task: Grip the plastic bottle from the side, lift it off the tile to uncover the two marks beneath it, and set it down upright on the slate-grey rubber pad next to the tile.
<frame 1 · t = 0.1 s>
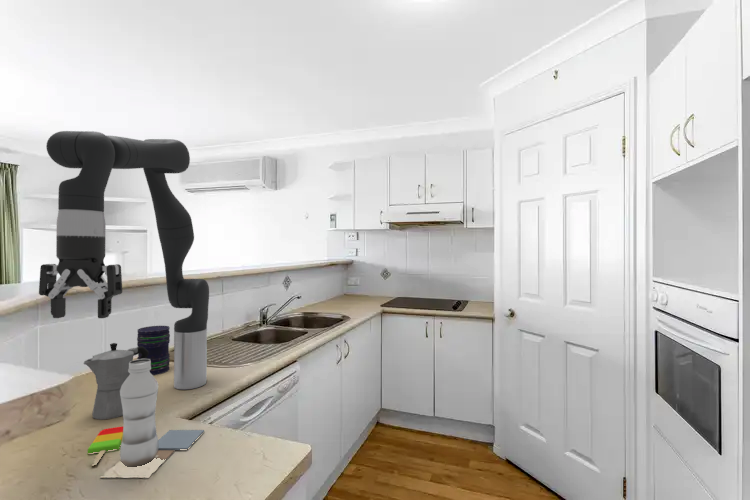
hand: (81, 317, 73), 29 cm above the countertop, tool pointing down, fingers open, 8 cm apart
storage jar: (153, 371, 131), on the countertop
code tile: (139, 464, 74), on the countertop
plastic bottle: (139, 463, 74), resting on code tile
slate pad: (178, 441, 83), on the countertop
popsicle: (105, 451, 80), on the countertop
coffeepot: (117, 411, 99), on the countertop
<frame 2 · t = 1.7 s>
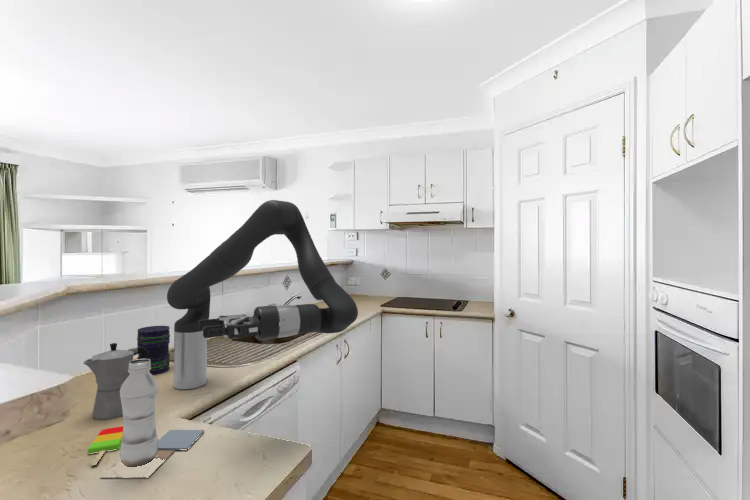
hand: (200, 328, 80), 26 cm above the countertop, tool horizontal, fingers open, 8 cm apart
nothing on the countertop moved.
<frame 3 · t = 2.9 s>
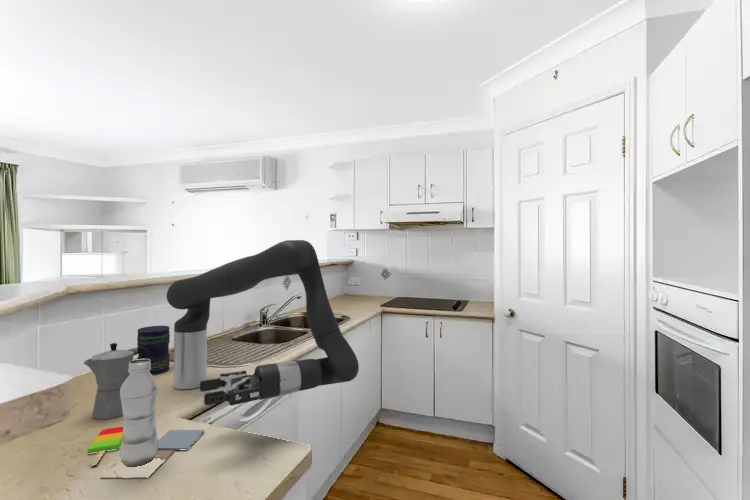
hand: (201, 392, 80), 12 cm above the countertop, tool horizontal, fingers open, 8 cm apart
nothing on the countertop moved.
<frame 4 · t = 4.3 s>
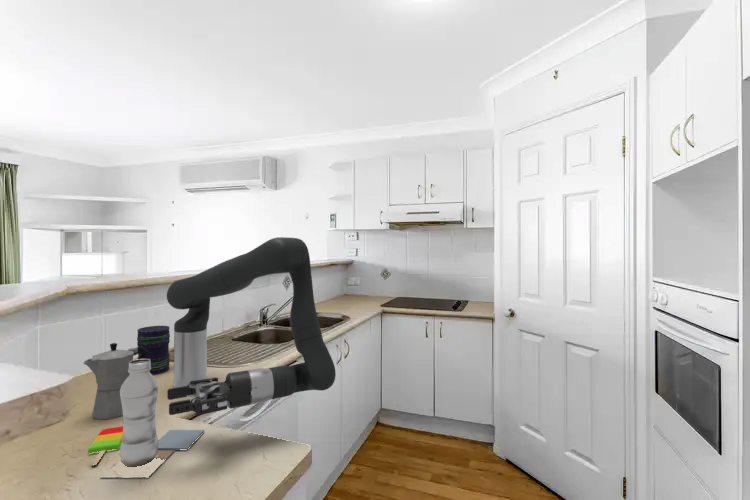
hand: (168, 401, 77), 11 cm above the countertop, tool horizontal, fingers open, 8 cm apart
nothing on the countertop moved.
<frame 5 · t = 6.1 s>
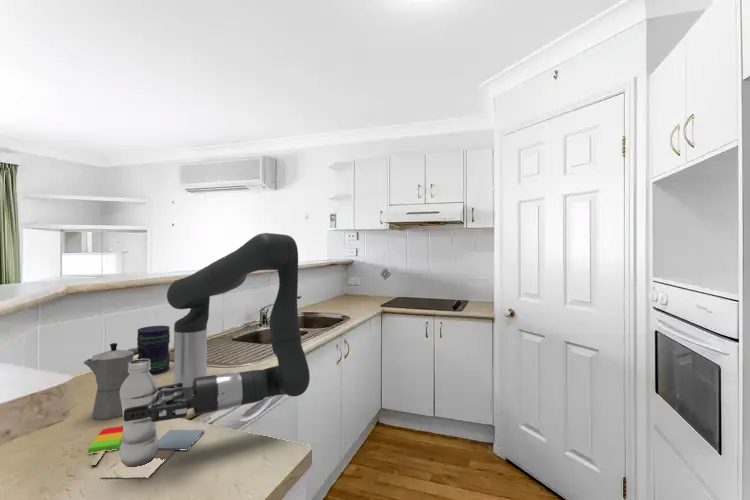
hand: (125, 408, 73), 12 cm above the countertop, tool horizontal, fingers closed on plastic bottle, 6 cm apart
plastic bottle: (139, 463, 74), resting on code tile, touching gripper
everything else where it was.
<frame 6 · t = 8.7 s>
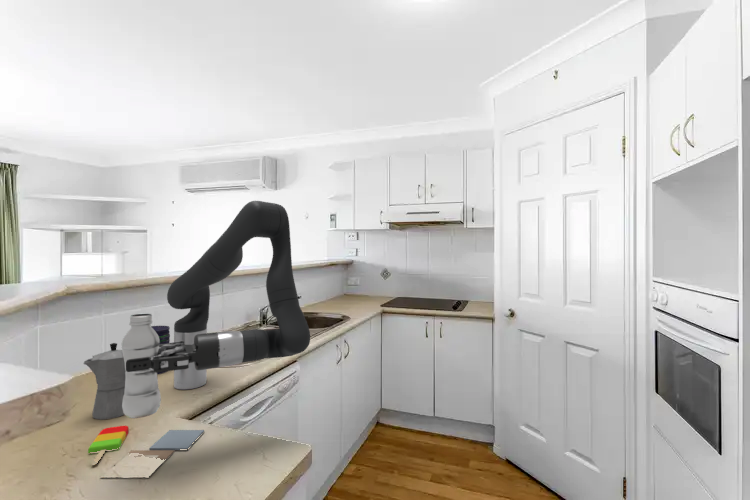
hand: (127, 361, 73), 21 cm above the countertop, tool horizontal, fingers closed on plastic bottle, 6 cm apart
plastic bottle: (141, 416, 75), point 9 cm above the countertop, touching gripper
everything else where it was.
when the fingers open (13 cm above the countertop, at t = 11.8 s): plastic bottle drops 1 cm, resting on slate pad.
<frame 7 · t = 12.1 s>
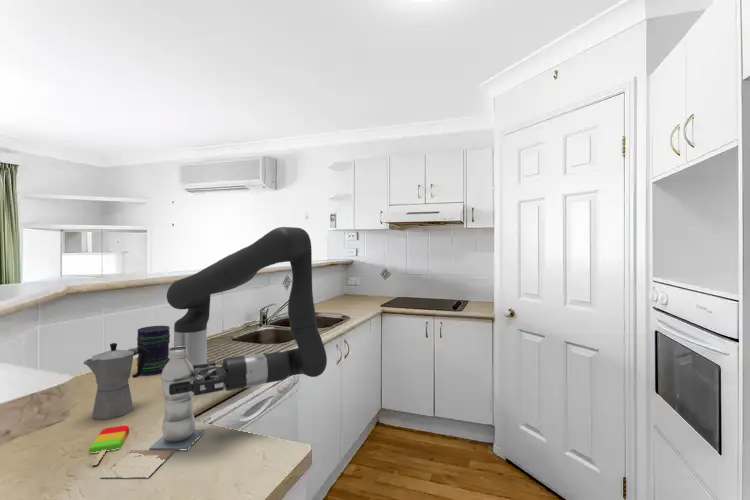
hand: (168, 383, 82), 13 cm above the countertop, tool horizontal, fingers open, 8 cm apart
plastic bottle: (178, 439, 83), resting on slate pad
everything else where it was.
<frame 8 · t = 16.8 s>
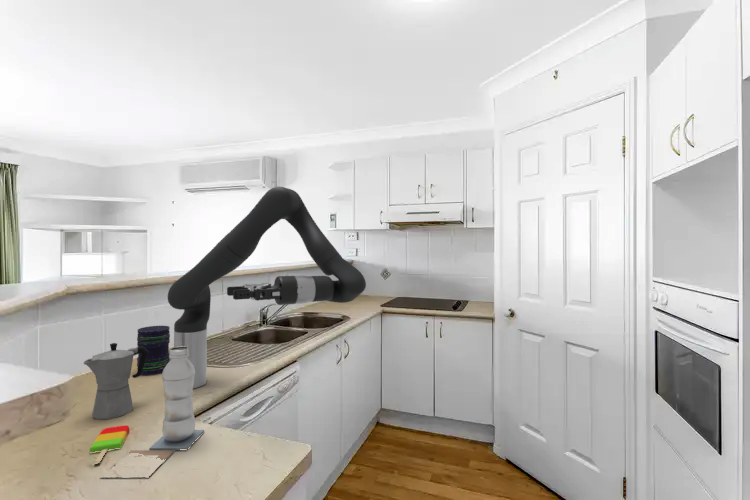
hand: (230, 293, 91), 32 cm above the countertop, tool horizontal, fingers open, 8 cm apart
nothing on the countertop moved.
at the end: plastic bottle 0.1 cm off-centre on the slate pad, point 0.4 cm above the slate pad's base; plastic bottle tilted 0°; the gripper is holding nothing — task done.
